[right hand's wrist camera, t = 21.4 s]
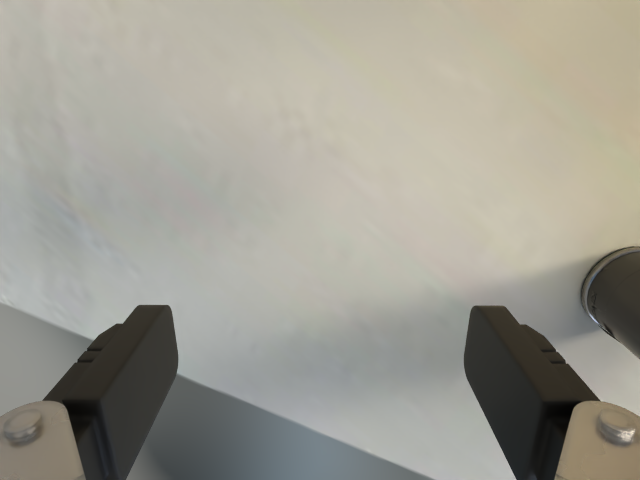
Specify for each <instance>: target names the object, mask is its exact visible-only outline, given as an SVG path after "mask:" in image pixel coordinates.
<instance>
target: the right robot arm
mask: <svg viewBox="0 0 640 480" xmlns="http://www.w3.org/2000/svg"><path fill="white" fill-rule="evenodd" d="M581 297H582V304H583V307H584V310H585V311H586V313H587V314H588V315H589V316H590V317H591V318H592V319H593V320H594V321H595V322H597V323H598V324H599V325H601V326H602V327H604V328H605V329H606V330H607V331H608V332H607V331H606V330H604V329H603V328H602V327H601V328H602V329H603V330H604V331H605V332H606V333H607V334H609V335H610V336H612V337H613V338H614V339H616V340H617V341H619V342H620V343H621V344H623V345H624V346H625V347H626V348H627V349H628V350H630V351H631V352H632V353H633V354H634V355H635V356H636V357H638V358H639V359H640V247H632V248H626V249H623V250H620V251H617V252H615V253H613V254H611V255H609V256H607V257H606V258H604V259H603V260H602V261H600V262H599V263H598V264H597V265H596V266H595V267H594V268H593V269H592V270H591V272H590V273H589V275H588V276H587V278H586V280H585V282H584V285H583V288H582V295H581ZM599 325H598V326H599ZM599 327H600V326H599ZM611 334H612V335H611ZM177 368H178V350H177V343H176V336H175V330H174V323H173V316H172V311H171V308H170V307H169V306H168V305H138V306H137V307H136V308H135V309H134V311H133V312H132V313H131V314H130V316H129V317H128V318H127V319H126V321H125V322H124V323H123V324H116V325H114V326H112V327H111V328H109V329H108V330H106V331H105V332H103V333H101V334H100V335H99V336H98V337H97V338H96V339H95V340H94V341H93V343H92V344H91V345H90V346H89V347H88V348H87V351H85V352H84V353H83V354H82V355H81V356H80V358H79V359H78V362H77V363H74V365H73V366H72V367H71V368H70V369H69V370H68V372H67V373H66V374H65V375H64V376H63V377H62V378H61V380H60V381H59V382H58V383H57V384H56V385H55V387H54V388H53V389H52V390H51V391H50V392H49V394H48V395H47V396H46V397H45V398H44V399H43V401H39V402H33V403H29V404H26V405H23V406H20V407H18V408H15V409H13V410H11V411H9V412H7V413H6V414H4V415H2V416H1V417H0V480H126V478H127V476H128V474H129V472H130V470H131V468H132V466H133V464H134V462H135V459H136V457H137V455H138V453H139V451H140V449H141V447H142V445H143V443H144V441H145V439H146V437H147V435H148V433H149V431H150V429H151V427H152V424H153V422H154V420H155V418H156V416H157V414H158V412H159V410H160V408H161V406H162V404H163V402H164V400H165V398H166V396H167V394H168V391H169V389H170V387H171V385H172V383H173V381H174V379H175V376H176V373H177ZM464 368H465V373H466V377H467V379H468V382H469V384H470V386H471V388H472V390H473V392H474V394H475V396H476V398H477V400H478V402H479V404H480V406H481V408H482V410H483V412H484V414H485V416H486V418H487V420H488V422H489V424H490V426H491V428H492V430H493V433H494V435H495V437H496V439H497V441H498V443H499V445H500V447H501V449H502V451H503V453H504V455H505V457H506V459H507V461H508V463H509V465H510V467H511V469H512V471H513V473H514V475H515V477H516V479H517V480H640V417H639V416H638V415H636V414H634V413H633V412H631V411H629V410H627V409H625V408H622V407H620V406H617V405H614V404H611V403H607V402H601V401H600V400H599V399H598V398H597V396H596V395H595V394H594V393H593V392H592V391H591V390H590V388H589V387H588V386H587V385H586V384H585V383H584V381H583V380H582V379H581V378H580V377H579V376H578V375H577V373H576V372H575V371H574V370H573V369H572V368H571V367H570V365H569V364H566V362H565V360H564V359H563V357H562V356H561V355H560V354H559V353H558V352H556V349H555V348H554V347H553V346H552V345H551V344H550V342H549V341H548V340H547V339H546V338H545V337H544V336H543V335H541V334H540V333H538V332H537V331H535V330H534V329H532V328H530V327H529V326H527V325H520V324H519V323H518V322H517V321H516V319H515V318H514V317H513V316H512V314H511V313H510V312H509V311H508V309H507V308H506V307H504V306H474V307H473V308H472V310H471V313H470V318H469V325H468V332H467V339H466V345H465V352H464Z"/></svg>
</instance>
